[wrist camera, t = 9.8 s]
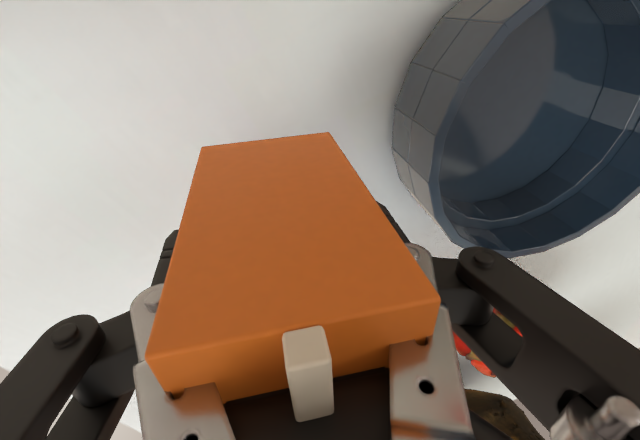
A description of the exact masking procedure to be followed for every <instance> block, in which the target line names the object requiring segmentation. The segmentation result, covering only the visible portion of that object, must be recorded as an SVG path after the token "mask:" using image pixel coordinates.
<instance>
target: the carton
mask: <svg viewBox="0 0 640 440" xmlns="http://www.w3.org/2000/svg"><path fill="white" fill-rule="evenodd" d="M440 303H441V299H440V296H439V294H438V293H437V291H436V290H435V288H434V287H433V285H432V284H431V282H430V281H429V279H428V278H427V276H426V275H425V273H424V272H423V270H422V269H421V268H420V266H419V265H418V263H417V262H416V260H415V259H414V257H413V256H412V254H411V253H410V251H409V250H408V248H407V247H406V245H405V244H404V242H403V241H402V239H401V238H400V236H399V235H398V233H397V232H396V230H395V229H394V228H393V226H392V225H391V223H390V222H389V220H388V219H387V217H386V216H385V214H384V213H383V211H382V210H381V208H380V207H379V205H378V204H377V202H376V201H375V199H374V198H373V196H372V195H371V193H370V192H369V190H368V189H367V188H366V186H365V185H364V183H363V182H362V180H361V179H360V177H359V176H358V174H357V173H356V171H355V170H354V168H353V167H352V165H351V164H350V162H349V161H348V159H347V158H346V156H345V155H344V153H343V152H342V150H341V149H340V148H339V146H338V145H337V143H336V142H335V140H334V139H333V137H332V136H331V134H330V133H329V132H325V133H316V134H308V135H299V136H291V137H282V138H274V139H265V140H257V141H248V142H240V143H231V144H223V145H214V146H206V147H202V148H201V151H200V155H199V158H198V162H197V166H196V169H195V173H194V176H193V180H192V184H191V187H190V191H189V195H188V198H187V202H186V206H185V209H184V213H183V217H182V220H181V224H180V228H179V231H178V235H177V238H176V242H175V246H174V249H173V253H172V257H171V260H170V264H169V268H168V271H167V275H166V279H165V282H164V286H163V289H162V293H161V297H160V300H159V304H158V308H157V311H156V315H155V319H154V322H153V326H152V330H151V333H150V337H149V340H148V344H147V348H146V351H145V360H146V362H147V364H148V365H149V367H150V369H151V370H152V372H153V374H154V375H155V377H156V379H157V380H158V382H159V383H160V385H161V387H162V388H163V390H164V391H166V392H169V391H170V392H171V393H172V395H173V397H174V398H175V400H177V399H179V398H180V397H181V396H182V395H183V394H184V391H185V389H184V388H188V387H193V386H198V385H202V384H207V383H212V382H215V384H216V386H217V389H218V391H219V394H220V396H221V398H222V401H223V404H225V403H226V402H227V401H231V400H236V399H240V398H245V397H249V396H254V395H258V394H263V393H267V392H272V391H276V390H281V389H285V388H289V389H290V395H291V400H292V405H293V410H294V415H295V419H296V421H297V422H303V421H307V420H312V419H316V418H320V417H324V416H328V415H331V414H333V413H334V396H333V378H335V377H339V376H344V375H348V374H353V373H357V372H362V371H366V370H371V369H375V368H380V367H385V368H388V352H389V345H390V344H395V343H399V342H404V341H409V340H413V339H415V342H416V343H417V344H418V345H421V346H424V345H425V340H426V337H427V336H431V335H432V334H433V333H434V328H435V324H436V320H437V316H438V311H439V307H440Z"/></svg>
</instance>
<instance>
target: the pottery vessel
mask: <svg viewBox="0 0 640 440" xmlns="http://www.w3.org/2000/svg"><path fill="white" fill-rule="evenodd" d="M464 390H465V395H466V400H467V405H468V408H469V409H470V410H472V411H473V412H475V413H476V414H477V415H479V416H480V417H482V418H483V419H485V420H486V421H488V422H489V423H491V424H492V425H493V426H495V427H496V428H498V429H499V430H501V431H502V432H504V433H505V434H507V435H508V436H509V437H511V438H512V439H514V440H545V439H544V438H543V437H542V436H541V435H540V434H539V433H538V432H537V431H536V429H535V428H534V427H533V425H532V424H531V423H530V421H529V420H528V418H527V417H526V415H525V414H524V411H522V410H521V409H520V408H519V407H518V406H517V405H516V404H515V403H514V402H513V401H512V400H511V399H510V398H508V397H506V396H502V395H500V394H494V393H488V392H484V391H478V390H471V389H464Z"/></svg>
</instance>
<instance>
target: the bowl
mask: <svg viewBox="0 0 640 440" xmlns="http://www.w3.org/2000/svg"><path fill="white" fill-rule="evenodd" d="M392 151H393V155H394V159H395V163H396V167H397V171H398V175H399V178H400V180H401V181H402V183H403V184H404V185H405V187H406V188H407V189H408V191H409V192H410V193H411V195H412V196H413V197H414V199H415V200H416V201H417V202H418V203H419V205H420V206H421V207H422V208H423V209H424V210H425V212H426V213H427V214H428V215H429V216H430V217H431V218H432V220H433V221H434V222H435V223H436V224H437V225H438V226H439V228H440V229H441V230H442V231H443V232H444V233H445V235H446V236H447V237H448V238H449V239H450V240H451V241H452V242H453V243H454V244H456V245H458V246H460V247H462V248H464V249H465V248H468V247H474V246H478V247H485V248H489V249H491V250H494V251H496V252H498V253H499V254H501V255H502V256H504V257H505V258H514V257H519V256H524V255H530V254H535V253H541V252H544V251H546V250H549V249H551V248H554V247H556V246H558V245H561V244H563V243H566V242H568V241H570V240H573V239H575V238H577V237H579V236H581V235H583V234H584V233H586V232H587V231H589V230H591V229H592V228H594V227H595V226H597V225H598V224H600V223H602V222H603V221H605V220H606V219H608V218H610V217H611V216H613V215H614V214H616V213H617V212H618V211H619V210H620V209H621V208H623V207H624V206H625V205H626V204H627V203H628V202H630V201H631V200H632V199H633V198H634V197H635V196H637V195H638V194H639V193H640V0H461V1H460V2H459V3H458V4H456V5H455V6H454V7H453V8H452V9H451V10H450V11H448V12H447V13H446V14H445V15H444V16H443V17H442V18H441V19H440V21H439V22H438V24H437V25H436V27H435V28H434V29H433V31H432V32H431V34H430V35H429V37H428V38H427V40H426V41H425V43H424V44H423V46H422V47H421V48H420V50H419V51H418V53H417V54H416V56H415V57H414V59H413V60H412V62H411V63H410V66H409V69H408V72H407V74H406V77H405V80H404V82H403V85H402V88H401V91H400V93H399V96H398V99H397V101H396V104H395V110H394V123H393V136H392Z"/></svg>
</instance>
